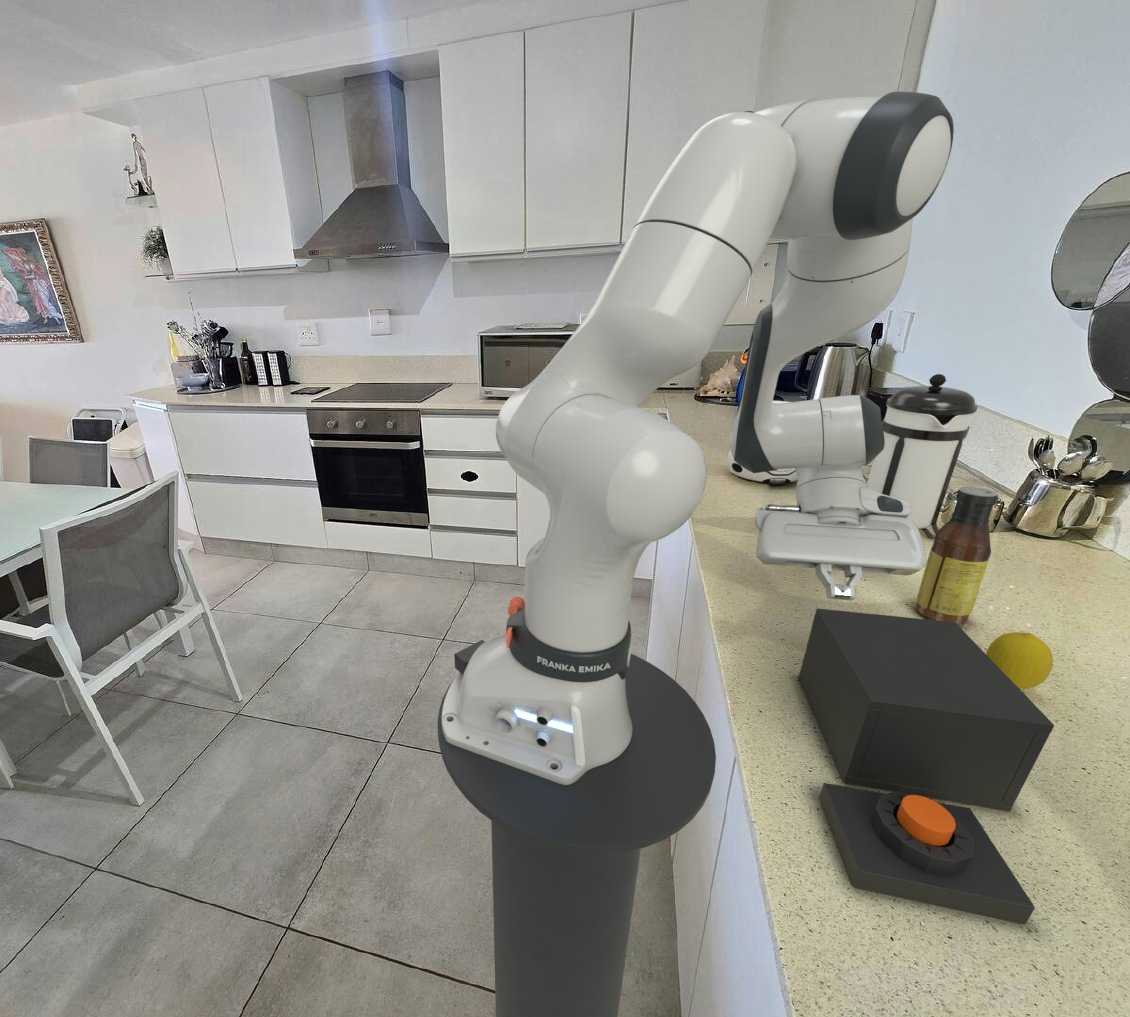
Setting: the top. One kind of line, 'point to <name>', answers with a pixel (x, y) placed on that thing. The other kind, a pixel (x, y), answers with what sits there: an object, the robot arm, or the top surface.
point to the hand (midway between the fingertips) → (840, 598)
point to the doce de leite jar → (763, 477)
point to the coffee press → (922, 447)
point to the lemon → (1022, 658)
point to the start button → (926, 820)
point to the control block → (921, 856)
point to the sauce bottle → (958, 559)
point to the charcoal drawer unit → (919, 709)
